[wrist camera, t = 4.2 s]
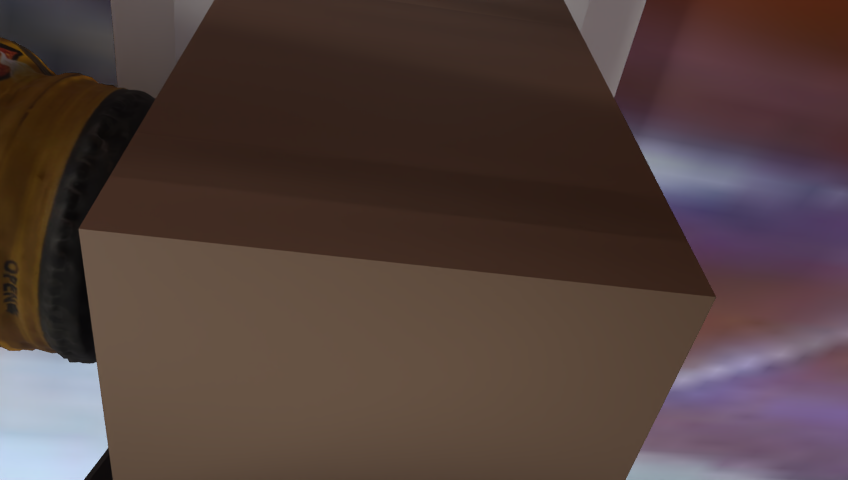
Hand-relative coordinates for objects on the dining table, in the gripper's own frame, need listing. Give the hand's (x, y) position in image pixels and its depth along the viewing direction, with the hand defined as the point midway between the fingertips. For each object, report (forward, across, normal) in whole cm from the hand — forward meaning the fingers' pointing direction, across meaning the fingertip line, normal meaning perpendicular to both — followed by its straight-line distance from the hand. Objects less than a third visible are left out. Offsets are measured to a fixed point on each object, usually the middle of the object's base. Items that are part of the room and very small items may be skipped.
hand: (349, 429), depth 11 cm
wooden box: (+2, 0, 0) cm, 2 cm away
